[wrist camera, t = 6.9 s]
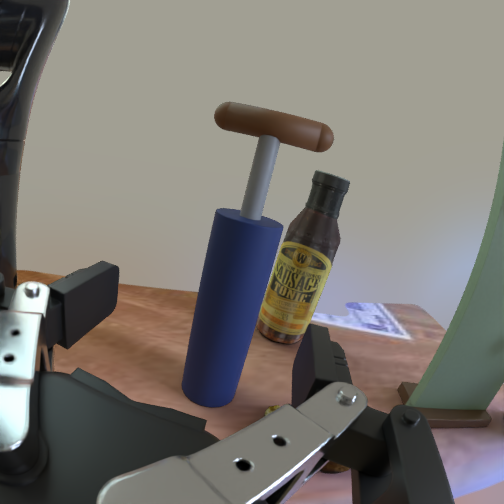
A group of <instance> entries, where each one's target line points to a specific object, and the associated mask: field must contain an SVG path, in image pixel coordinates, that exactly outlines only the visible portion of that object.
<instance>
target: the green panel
mask: <svg viewBox="0 0 504 504" xmlns="http://www.w3.org/2000/svg"><path fill="white" fill-rule="evenodd" d="M503 382H504V142H503V150H502V156H501V163H500V170H499V174H498V180H497V185H496V189H495V194H494V199H493V203H492V207H491V211H490V215H489V219H488V223H487V226H486V230H485V233H484V237H483V240H482V243H481V246H480V250H479V253H478V256H477V259H476V262H475V264H474V267H473V270H472V273H471V276H470V278H469V281H468V284H467V286H466V289H465V291H464V294H463V296H462V299H461V301H460V303H459V306H458V308H457V310H456V312H455V315H454V317H453V319H452V321H451V323H450V326H449V328H448V330H447V332H446V334H445V336H444V338H443V340H442V342H441V344H440V346H439V348H438V350H437V352H436V354H435V355H434V357H433V359H432V361H431V363H430V365H429V366H428V368H427V370H426V372H425V373H424V375H423V377H422V379H421V380H420V382H419V384H416V383H408V382H402V383H401V384H400V386H399V388H398V392H399V394H400V396H401V399H402V401H403V403H404V405H407V406H411V407H413V408H415V409H417V410H419V411H420V412H421V413H422V414H423V415H424V416H425V417H426V419H427V421H428V424H429V426H430V428H464V427H486V426H487V425H488V424H489V423H490V421H491V420H492V419H491V417H490V415H489V414H488V412H487V411H486V408H487V407H488V405H489V404H490V402H491V401H492V399H493V398H494V396H495V395H496V393H497V392H498V390H499V389H500V387H501V386H502V384H503Z"/></svg>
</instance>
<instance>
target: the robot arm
mask: <svg viewBox="0 0 504 504" xmlns="http://www.w3.org/2000/svg"><path fill="white" fill-rule="evenodd" d="M68 7H69V0H0V71H12V73H11V75H10V76H9V78H8V79H7V80H6V81H5V82H4V83H3V84H2V85H0V504H284V503H285V502H286V501H287V500H288V499H289V498H290V497H291V496H292V495H293V494H294V493H295V492H296V491H298V490H299V489H300V488H301V487H302V486H303V485H304V484H305V483H307V482H308V481H309V480H310V479H311V478H312V477H313V476H314V475H315V474H316V473H317V472H318V471H319V470H321V469H322V468H323V467H324V466H325V465H326V464H327V463H328V462H329V461H332V462H334V463H337V464H340V465H343V466H345V467H348V468H351V477H352V501H353V504H455V503H454V499H453V495H452V492H451V488H450V485H449V482H448V479H447V475H446V472H445V469H444V466H443V463H442V460H441V457H440V454H439V451H438V448H437V445H436V443H435V440H434V437H433V434H432V432H431V429H430V426H429V424H428V421H427V419H426V417H425V416H424V415H423V414H422V413H421V412H420V411H419V410H417V409H415V408H413V407H411V406H407V405H397V406H395V407H394V408H393V409H392V410H391V412H390V413H389V414H386V413H384V412H381V411H378V410H375V409H373V408H370V407H369V406H367V402H368V401H367V398H366V396H365V394H364V393H363V392H362V391H361V390H360V389H358V388H357V387H355V386H353V384H352V380H351V376H350V372H349V368H348V367H347V366H348V364H347V361H346V357H345V353H344V350H343V349H342V348H341V347H340V345H339V344H338V343H337V342H333V341H330V336H329V331H328V328H326V327H322V326H318V325H314V324H308V326H307V328H306V331H305V334H304V336H303V339H302V341H301V344H300V347H299V349H298V352H297V354H296V357H295V360H294V364H293V370H292V405H290V404H285V405H283V406H281V407H280V408H278V409H276V410H275V411H273V412H271V413H270V414H268V415H266V416H265V417H263V418H261V419H260V420H258V421H256V422H254V423H253V424H251V425H249V426H247V427H245V428H244V429H242V430H240V431H238V432H236V433H234V434H233V435H231V436H229V437H227V438H225V439H223V440H219V439H218V438H217V437H215V436H214V435H212V434H210V433H209V432H207V431H205V426H206V422H207V420H205V419H201V418H198V417H195V416H192V415H189V414H186V413H183V412H180V411H177V410H174V409H172V408H166V407H160V406H155V405H150V404H145V403H140V402H136V401H133V400H131V399H129V398H128V397H126V396H125V395H124V394H122V393H121V392H119V391H118V390H117V389H115V388H114V387H113V386H111V385H110V384H109V383H107V382H106V381H104V380H102V379H100V378H98V377H96V376H94V375H92V374H90V373H88V372H86V371H84V370H82V369H80V368H77V369H76V370H75V371H74V372H73V373H72V374H71V375H70V374H66V373H62V372H54V345H55V344H58V345H60V346H62V347H64V348H66V349H69V348H70V347H71V346H72V345H73V344H75V343H76V342H77V341H78V340H79V339H81V338H82V337H83V336H84V335H85V334H87V333H88V332H89V331H90V330H91V329H93V328H94V327H95V326H96V325H98V324H99V323H100V322H101V321H103V320H104V319H105V318H106V317H107V316H109V315H110V314H111V313H112V312H113V311H114V309H115V307H116V304H117V296H118V282H119V267H118V266H116V265H113V264H110V263H108V262H105V261H100V262H98V263H96V264H94V265H92V266H90V267H88V268H85V269H79V270H77V271H75V272H73V273H71V274H69V275H67V276H65V278H64V277H63V278H61V279H59V280H57V281H55V282H53V283H51V284H49V285H47V286H46V285H45V284H43V283H40V282H25V283H22V284H20V285H18V286H17V279H18V276H17V272H16V218H17V202H18V190H19V180H20V170H21V163H22V156H23V150H24V144H25V141H23V140H25V138H26V133H27V128H28V122H29V117H30V113H31V108H32V104H33V100H34V97H35V93H36V89H37V86H38V83H39V80H40V77H41V74H42V72H43V69H44V66H45V64H46V61H47V59H48V56H49V54H50V52H51V49H52V47H53V45H54V43H55V40H56V38H57V36H58V33H59V31H60V29H61V26H62V24H63V22H64V19H65V16H66V14H67V10H68Z"/></svg>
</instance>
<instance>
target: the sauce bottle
mask: <svg viewBox="0 0 504 504" xmlns="http://www.w3.org/2000/svg"><path fill="white" fill-rule="evenodd" d="M312 183H313V184H312V189H311V192H310V196H309V198H308V202H307V203H306V207H305V208H304V209H303V211H301V212H300V214H299V215H298V216H297V217H296V218H295V219H294V220H293V221H292V222H291V223H290V225H289V228H288V231H287V233H286V236H285V239H284V241H283V243H282V245H281V248H280V251H279V254H278V257H277V260H276V263H275V266H274V270H273V273H272V276H271V279H270V282H269V284H268V287H267V290H266V293H265V296H264V299H263V302H262V305H261V309H260V312H259V316H258V320H257V328H258V330H259V331H260V332H261V333H262V334H263V335H264V336H265V337H267V338H269V339H271V340H272V341H276V342H280V343H285V344H293V343H295V342H298V341H299V340H301V339H302V337H303V335H304V333H305V331H306V328H307V326H308V324H309V323H310V321H311V318H312V316H313V313H314V311H315V308H316V306H317V303H318V301H319V298H320V296H321V293H322V291H323V288H324V285H325V283H326V280H327V278H328V275H329V273H330V270H331V267H332V262H333V259H334V257H335V254H336V251H337V249H338V246H339V244H340V234H339V229H338V224H337V219H338V217H339V211H340V207H341V205H342V201H343V198H344V195H345V194H346V193H347V192H348V188H349V184H350V181H348V180H346V179H344V178H341V177H338V176H335V175H332V174H329V173H326V172H322V171H319V170H316V171H315V174H314V176H313V179H312Z"/></svg>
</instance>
